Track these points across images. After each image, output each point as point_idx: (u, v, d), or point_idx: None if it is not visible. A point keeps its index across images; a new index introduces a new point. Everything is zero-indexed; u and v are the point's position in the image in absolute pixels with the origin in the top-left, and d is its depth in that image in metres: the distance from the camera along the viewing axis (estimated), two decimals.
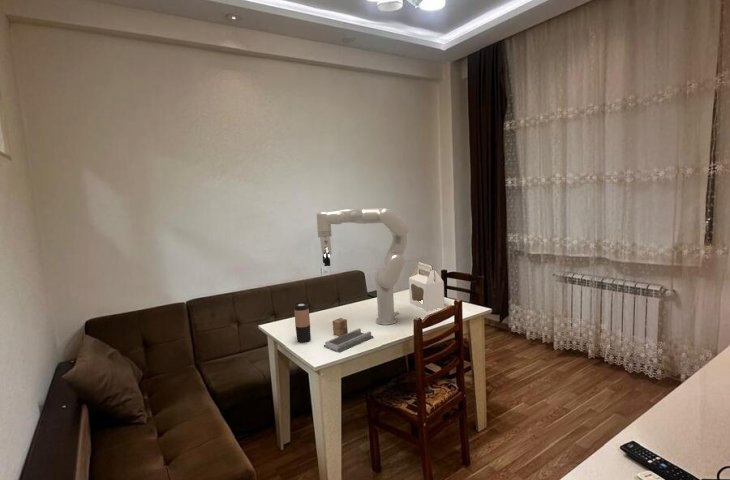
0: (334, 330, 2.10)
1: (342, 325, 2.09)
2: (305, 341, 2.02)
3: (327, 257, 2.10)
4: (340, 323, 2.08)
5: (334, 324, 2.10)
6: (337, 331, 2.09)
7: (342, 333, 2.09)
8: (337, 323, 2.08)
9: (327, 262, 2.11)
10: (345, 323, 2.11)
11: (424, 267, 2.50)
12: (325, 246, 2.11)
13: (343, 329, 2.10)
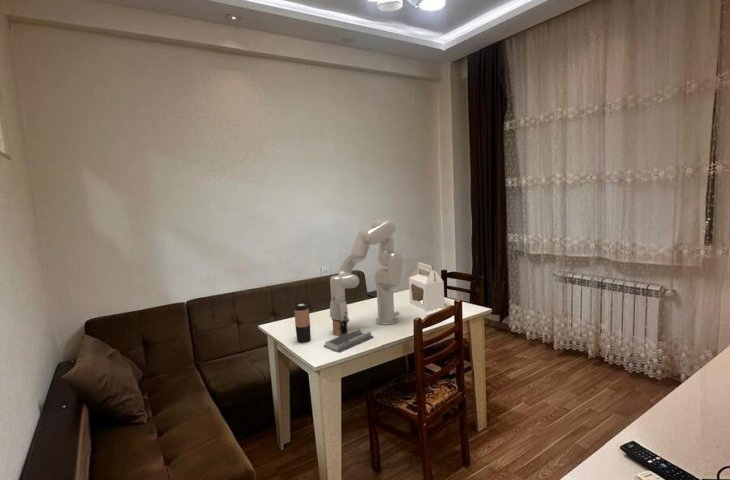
0: (334, 330, 2.10)
1: None
2: (305, 341, 2.02)
3: None
4: (340, 323, 2.08)
5: (334, 324, 2.10)
6: (337, 331, 2.09)
7: (342, 333, 2.09)
8: (337, 323, 2.08)
9: None
10: None
11: (424, 267, 2.50)
12: None
13: None
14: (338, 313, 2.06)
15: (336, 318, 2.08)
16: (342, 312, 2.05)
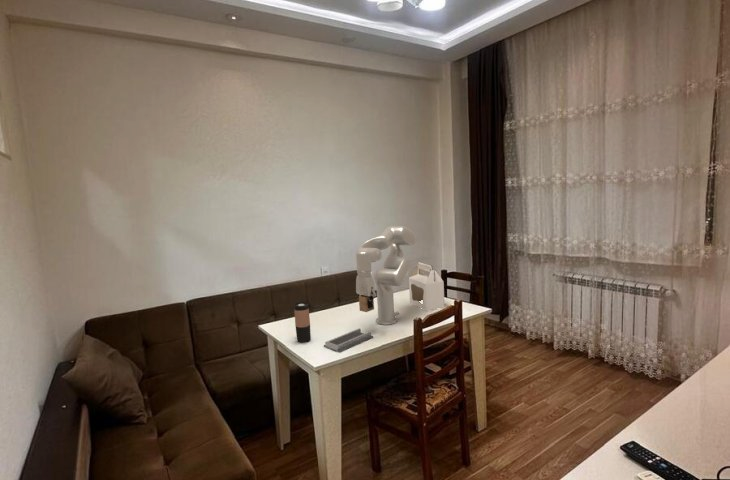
0: (360, 306, 2.08)
1: None
2: (305, 341, 2.02)
3: None
4: (366, 298, 2.05)
5: (360, 299, 2.07)
6: (363, 306, 2.06)
7: (368, 308, 2.07)
8: (363, 298, 2.05)
9: None
10: None
11: (424, 267, 2.50)
12: None
13: None
14: (365, 288, 2.04)
15: (363, 293, 2.05)
16: (369, 287, 2.03)
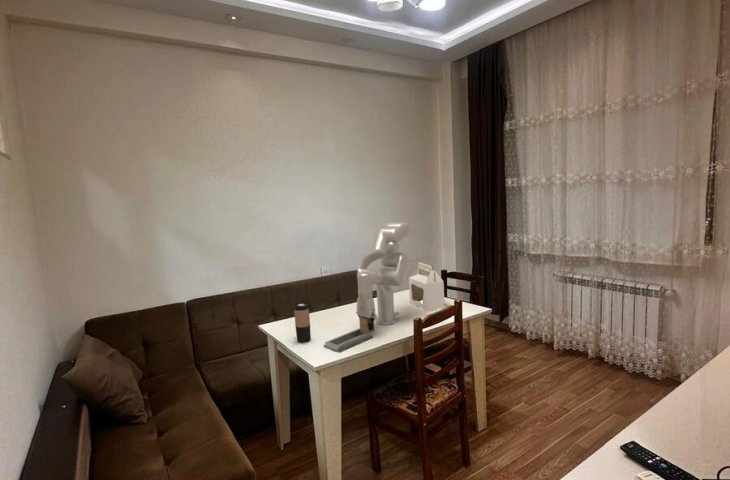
0: (361, 327, 2.08)
1: None
2: (305, 341, 2.02)
3: None
4: (367, 320, 2.05)
5: (361, 321, 2.07)
6: (364, 328, 2.06)
7: (369, 330, 2.07)
8: (364, 320, 2.05)
9: None
10: None
11: (424, 267, 2.50)
12: None
13: None
14: (366, 310, 2.04)
15: (363, 315, 2.06)
16: (370, 309, 2.03)
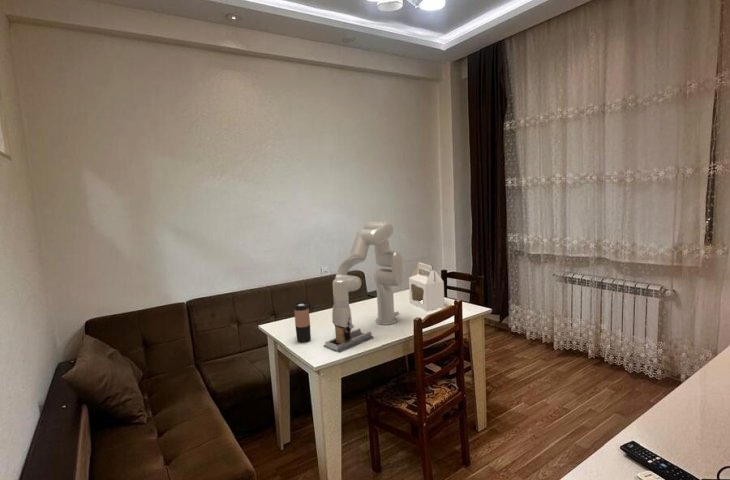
0: (337, 337, 1.96)
1: None
2: (305, 341, 2.02)
3: None
4: (343, 330, 1.93)
5: (337, 331, 1.95)
6: (340, 338, 1.94)
7: (345, 340, 1.95)
8: (340, 329, 1.93)
9: None
10: None
11: (424, 267, 2.50)
12: None
13: None
14: (341, 319, 1.92)
15: (339, 324, 1.94)
16: (345, 318, 1.91)
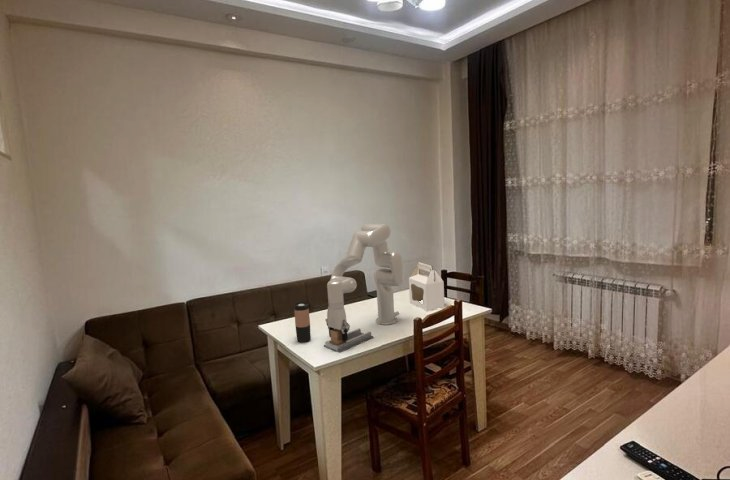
0: (332, 340, 1.93)
1: (340, 335, 1.92)
2: (305, 341, 2.02)
3: None
4: (338, 333, 1.91)
5: (332, 334, 1.93)
6: (335, 342, 1.92)
7: None
8: (335, 333, 1.91)
9: None
10: None
11: (424, 267, 2.50)
12: None
13: (341, 339, 1.93)
14: (336, 321, 1.89)
15: (334, 326, 1.91)
16: (340, 320, 1.88)
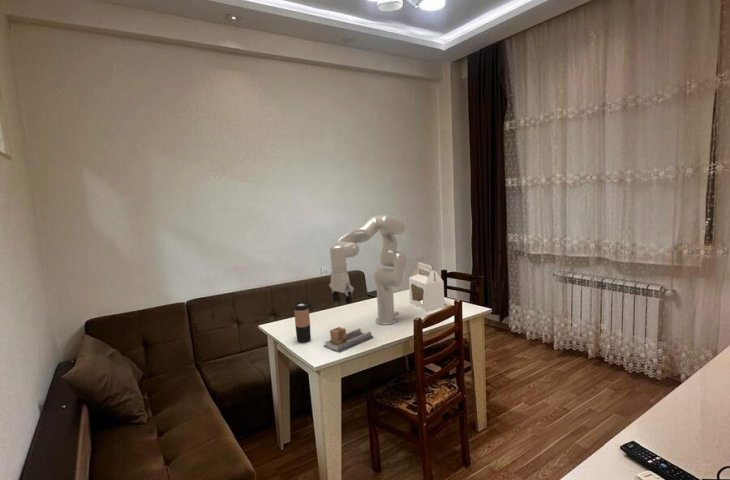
0: (332, 340, 1.93)
1: (340, 335, 1.92)
2: (305, 341, 2.02)
3: None
4: (338, 333, 1.91)
5: (332, 334, 1.93)
6: (335, 342, 1.92)
7: None
8: (335, 333, 1.91)
9: None
10: (344, 333, 1.94)
11: (424, 267, 2.50)
12: None
13: (341, 339, 1.93)
14: (340, 284, 1.94)
15: (338, 290, 1.96)
16: (344, 283, 1.93)
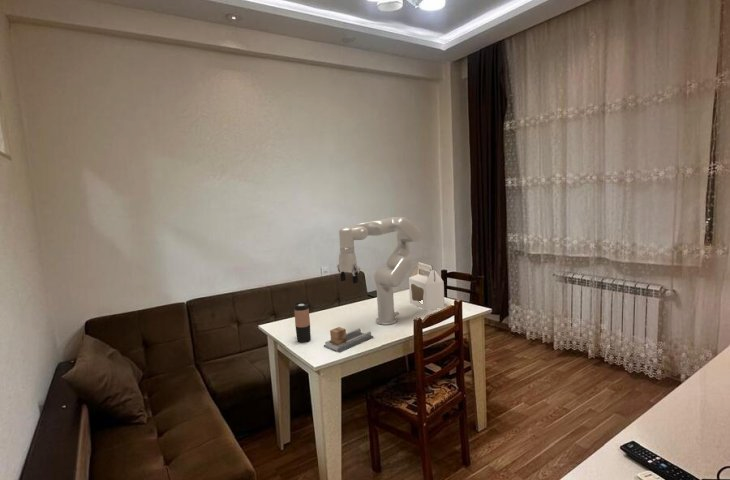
0: (332, 340, 1.93)
1: (340, 335, 1.92)
2: (305, 341, 2.02)
3: None
4: (338, 333, 1.91)
5: (332, 334, 1.93)
6: (335, 342, 1.92)
7: None
8: (335, 333, 1.91)
9: None
10: (344, 333, 1.94)
11: (424, 267, 2.50)
12: None
13: (341, 339, 1.93)
14: (347, 265, 2.05)
15: (345, 270, 2.07)
16: (351, 263, 2.04)
